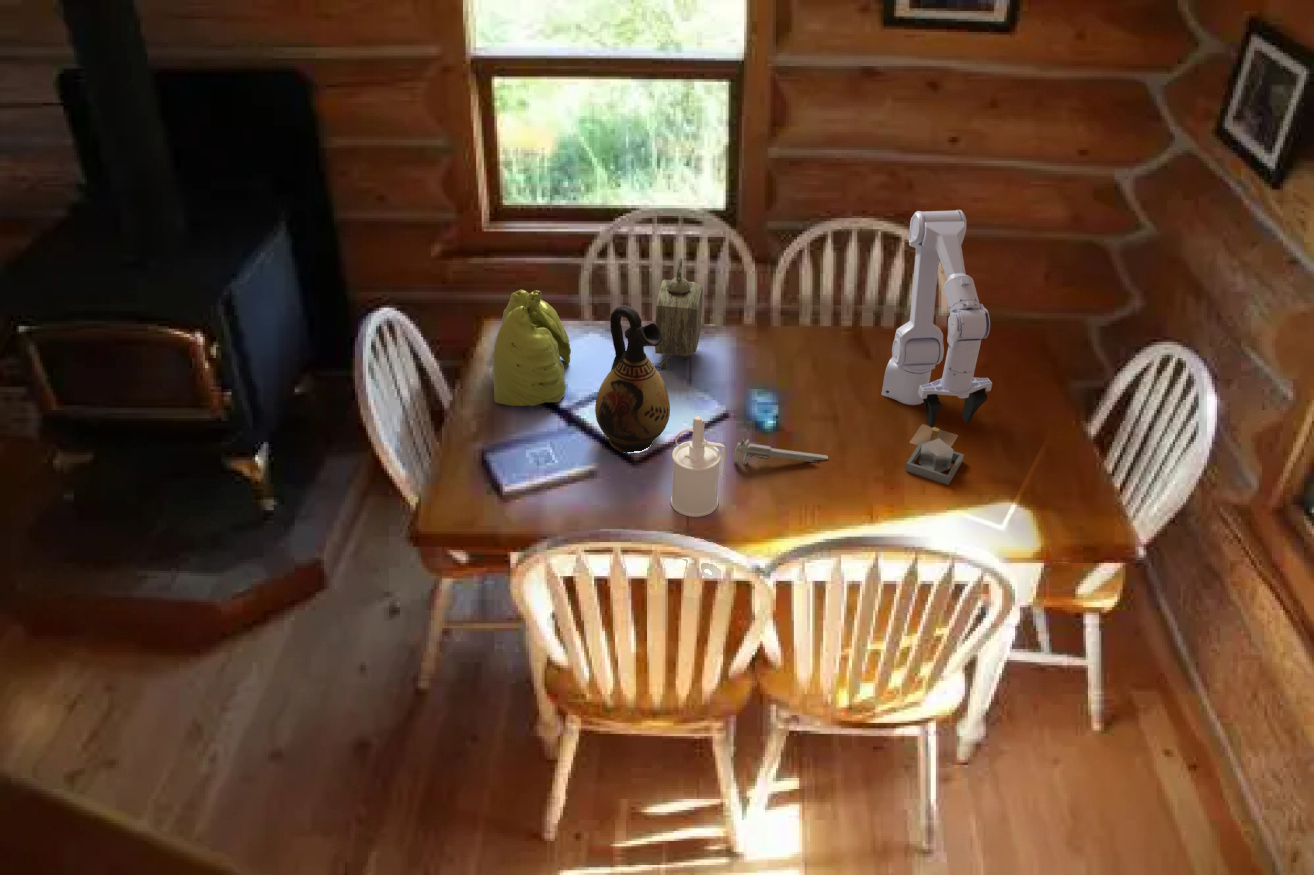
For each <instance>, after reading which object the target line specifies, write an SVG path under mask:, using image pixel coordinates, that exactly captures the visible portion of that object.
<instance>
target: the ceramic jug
mask: <svg viewBox="0 0 1314 875" xmlns="http://www.w3.org/2000/svg"><path fill="white" fill-rule="evenodd" d="M622 318H626V319H627V321H628V323H629V327H628V328H627V329H626V330H625V331H624V332H623V327H622V323H621V322H622ZM609 320H610V333H611V337H612V338H611V339H612V344H613V348H614V352H615V357H614V358H613V361H612V364H611V368H610V371H609V372H608V373H607V375H606V376H605V377H604V379H603V381H602V383H601V384H600V387H599V389H598V391H597V392H598V393H597V396H596V400H595V404H594V405H595V407H594V411H595V412H594V413H595V419H596V422H597V425H598V426H599V428H600V430H601V431H602V433H603V434H604V436H606V437H607V439H608V442H609V444H610V446H611V447H612V448H614V450H616V451H618V452H620V453H621V454H623V453H622V452H626V453H627V452H634V451H642V450H644V449H646V448H648V447H650V445H651V444H652V442H653V443H654V441H655V440H656V439H657V438H659V437H660V436H661V435H662V434H663V432H664V431H665V429H666V427H667V425H668V423H669V420H670V416H671V415H670V414H671V404H670V398H669V392H668V389H667V386H666V384H665V382H664V379H663V378H662V376H661V374H660V373H659V371H658V370H657V368H656V367H655V365H654V364H653V363H652V362H651V360H650V359H649V358H648V356H647V354H646V352H645V349H644V348H645V347H655V346H659V345H660V344H661V343H662V340H663V339H662V335H661V332H660V329H659V328H658V327H657V325H656V324H655V322H654V323H653V322H652V323H650V324H646V325H644V326H642V322H643V321H642V318H641V316H640V314H639V312H638V311H637V310H636V309H635V308H634V307H632V306H629V305H625V304H624V305H620V306H618V307H616V308H615V309H614V310H613V311H612V313H611V314H610V318H609ZM624 338H626V339H627V347H626V342H625V340H624ZM652 445H653V444H652ZM650 448H651V447H650Z"/></svg>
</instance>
